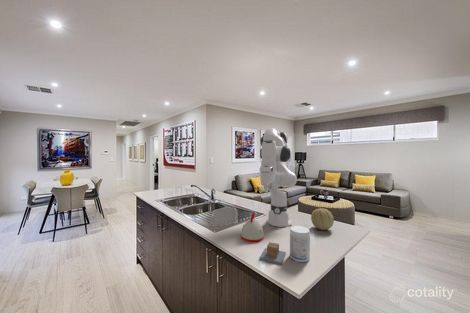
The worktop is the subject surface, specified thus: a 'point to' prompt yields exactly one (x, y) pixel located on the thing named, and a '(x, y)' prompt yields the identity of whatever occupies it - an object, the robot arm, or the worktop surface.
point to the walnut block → (273, 249)
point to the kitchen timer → (252, 231)
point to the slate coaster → (272, 259)
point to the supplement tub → (300, 243)
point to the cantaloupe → (322, 218)
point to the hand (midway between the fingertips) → (268, 190)
